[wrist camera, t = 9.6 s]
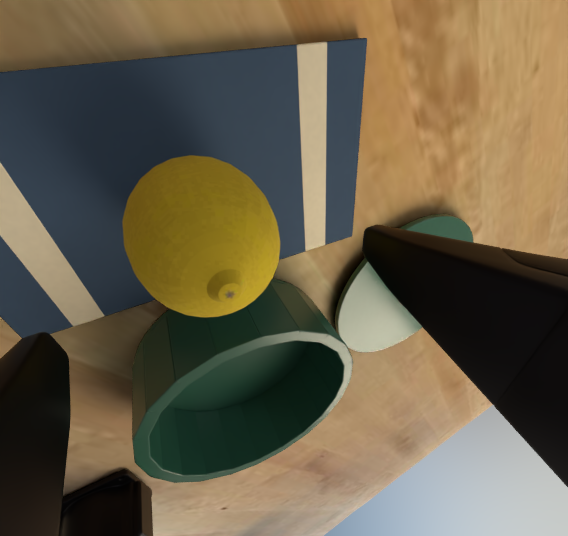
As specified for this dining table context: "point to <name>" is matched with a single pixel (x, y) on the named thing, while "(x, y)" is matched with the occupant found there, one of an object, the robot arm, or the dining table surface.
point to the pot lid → (385, 296)
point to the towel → (157, 149)
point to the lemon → (201, 236)
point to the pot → (234, 385)
